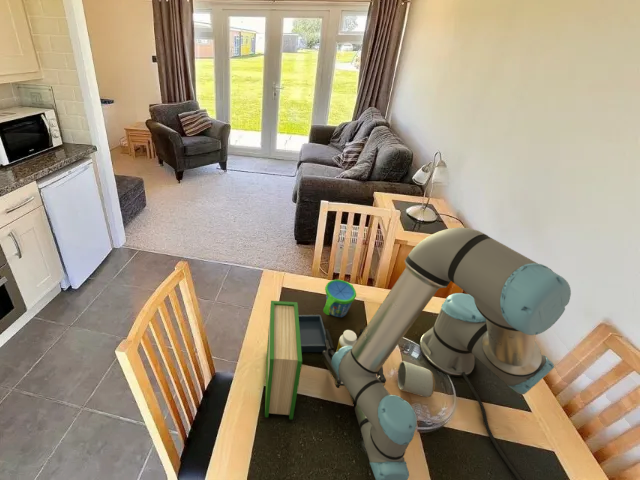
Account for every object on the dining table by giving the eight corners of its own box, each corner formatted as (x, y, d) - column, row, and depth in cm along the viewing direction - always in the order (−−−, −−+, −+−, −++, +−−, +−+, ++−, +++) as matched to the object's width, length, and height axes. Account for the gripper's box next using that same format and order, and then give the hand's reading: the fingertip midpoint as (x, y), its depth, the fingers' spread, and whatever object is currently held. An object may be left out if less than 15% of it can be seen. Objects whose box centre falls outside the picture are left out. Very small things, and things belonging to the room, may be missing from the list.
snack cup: (333, 330, 109) (338, 309, 104) (311, 310, 116) (314, 290, 111) (361, 309, 117) (366, 289, 112) (339, 292, 124) (343, 272, 120)
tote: (328, 352, 101) (329, 345, 100) (290, 352, 101) (291, 346, 99) (319, 320, 112) (320, 314, 111) (285, 321, 111) (286, 315, 110)
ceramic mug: (430, 404, 88) (438, 387, 84) (399, 396, 90) (406, 378, 86) (422, 369, 97) (429, 353, 94) (394, 362, 99) (400, 346, 95)
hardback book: (292, 419, 83) (302, 361, 72) (264, 417, 83) (270, 359, 72) (290, 357, 99) (297, 302, 88) (266, 356, 99) (271, 300, 88)
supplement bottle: (350, 367, 97) (356, 346, 92) (333, 358, 99) (338, 337, 95) (355, 354, 101) (361, 333, 96) (339, 345, 103) (344, 325, 99)
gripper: (322, 414, 82) (307, 340, 102) (407, 412, 84) (376, 339, 103) (326, 397, 79) (309, 324, 99) (415, 396, 80) (381, 323, 100)
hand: (343, 332), depth 101 cm, fingers open, 10 cm apart
